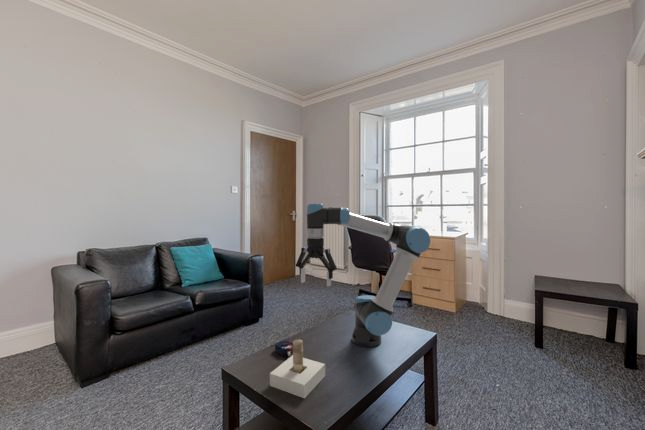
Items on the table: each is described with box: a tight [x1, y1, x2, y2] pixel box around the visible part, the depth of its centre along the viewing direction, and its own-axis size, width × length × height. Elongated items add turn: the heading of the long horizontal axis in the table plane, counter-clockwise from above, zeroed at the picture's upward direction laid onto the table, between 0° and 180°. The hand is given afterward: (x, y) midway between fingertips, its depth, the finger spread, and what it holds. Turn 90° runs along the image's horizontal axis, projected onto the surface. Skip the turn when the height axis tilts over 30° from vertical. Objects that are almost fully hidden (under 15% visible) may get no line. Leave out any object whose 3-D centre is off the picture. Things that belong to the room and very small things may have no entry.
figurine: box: [274, 340, 293, 357], centre depth 139 cm, size 9×4×15 cm
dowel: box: [292, 339, 304, 374], centre depth 117 cm, size 4×4×16 cm
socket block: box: [269, 355, 326, 399], centre depth 117 cm, size 16×16×5 cm
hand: (315, 284), depth 133 cm, fingers open, 13 cm apart
